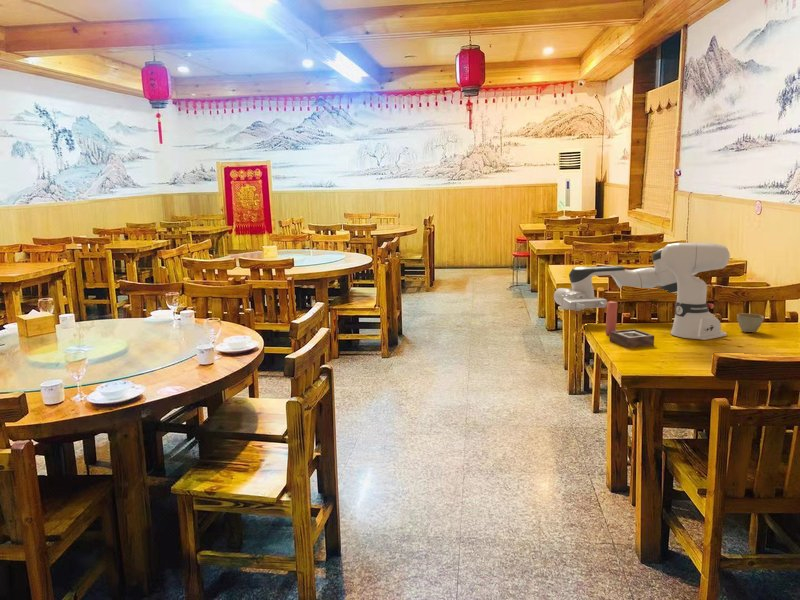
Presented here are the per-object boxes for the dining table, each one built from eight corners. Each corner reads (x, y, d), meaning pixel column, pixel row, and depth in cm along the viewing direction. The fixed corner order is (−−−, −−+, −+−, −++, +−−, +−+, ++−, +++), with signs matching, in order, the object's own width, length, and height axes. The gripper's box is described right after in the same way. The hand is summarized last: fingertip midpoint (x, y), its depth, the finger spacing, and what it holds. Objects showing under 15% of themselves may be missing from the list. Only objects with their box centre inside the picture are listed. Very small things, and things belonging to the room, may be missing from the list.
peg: (611, 333, 271) (613, 301, 269) (617, 335, 268) (619, 302, 265) (603, 333, 270) (605, 301, 268) (609, 336, 267) (611, 303, 264)
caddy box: (634, 338, 262) (634, 329, 261) (653, 345, 251) (654, 335, 250) (609, 340, 259) (610, 331, 258) (628, 348, 247) (628, 338, 247)
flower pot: (756, 335, 264) (758, 319, 263) (731, 331, 271) (733, 315, 270) (765, 331, 270) (767, 315, 269) (741, 328, 278) (742, 312, 277)
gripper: (596, 306, 295) (614, 311, 282) (557, 309, 289) (574, 315, 276) (596, 293, 294) (614, 298, 281) (558, 295, 288) (574, 300, 275)
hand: (594, 306), depth 279 cm, fingers open, 8 cm apart
